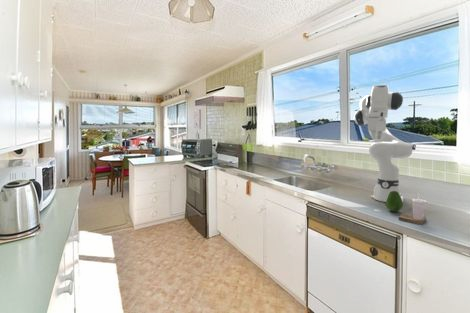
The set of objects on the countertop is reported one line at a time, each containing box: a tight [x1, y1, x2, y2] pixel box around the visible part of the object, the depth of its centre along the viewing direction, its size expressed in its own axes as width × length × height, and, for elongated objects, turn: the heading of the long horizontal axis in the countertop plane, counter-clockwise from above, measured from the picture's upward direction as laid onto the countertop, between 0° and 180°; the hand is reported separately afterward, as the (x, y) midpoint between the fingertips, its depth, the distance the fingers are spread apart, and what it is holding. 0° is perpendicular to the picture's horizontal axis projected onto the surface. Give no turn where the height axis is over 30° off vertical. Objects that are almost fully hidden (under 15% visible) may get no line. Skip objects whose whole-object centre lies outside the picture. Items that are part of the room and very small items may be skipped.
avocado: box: [385, 191, 404, 213], centre depth 143 cm, size 8×8×12 cm
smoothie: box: [411, 191, 428, 220], centre depth 126 cm, size 6×6×14 cm
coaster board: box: [398, 212, 427, 226], centre depth 130 cm, size 10×10×2 cm
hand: (376, 139), depth 141 cm, fingers open, 8 cm apart
